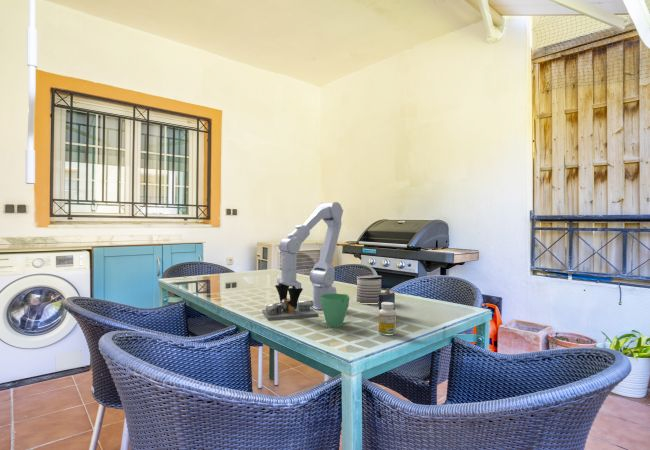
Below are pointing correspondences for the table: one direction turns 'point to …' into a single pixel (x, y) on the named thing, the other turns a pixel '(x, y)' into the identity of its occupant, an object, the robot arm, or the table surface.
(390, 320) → the supplement bottle
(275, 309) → the shaft
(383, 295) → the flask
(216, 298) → the table surface
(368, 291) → the can
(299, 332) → the table surface
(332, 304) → the green cup
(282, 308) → the coupler
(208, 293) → the table surface
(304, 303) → the shaft
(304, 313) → the base board
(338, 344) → the table surface
